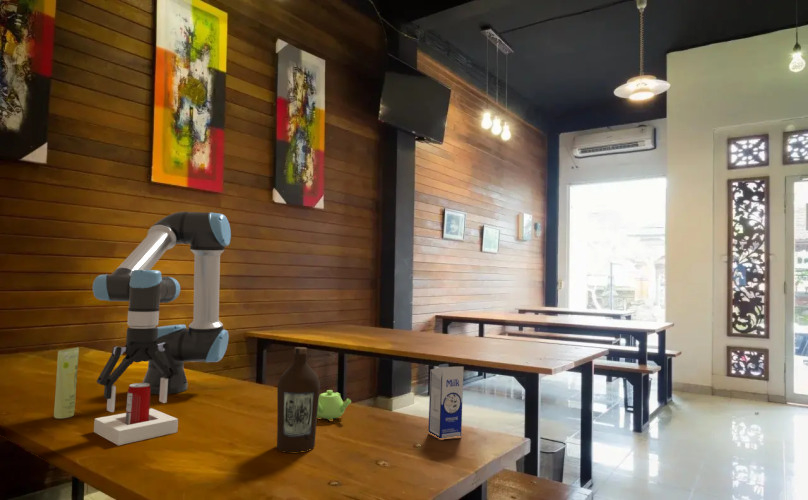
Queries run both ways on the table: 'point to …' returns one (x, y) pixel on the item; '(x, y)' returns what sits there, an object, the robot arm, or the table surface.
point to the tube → (66, 383)
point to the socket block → (135, 427)
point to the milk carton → (446, 401)
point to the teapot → (331, 405)
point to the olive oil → (297, 405)
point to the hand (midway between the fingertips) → (137, 406)
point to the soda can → (138, 403)
